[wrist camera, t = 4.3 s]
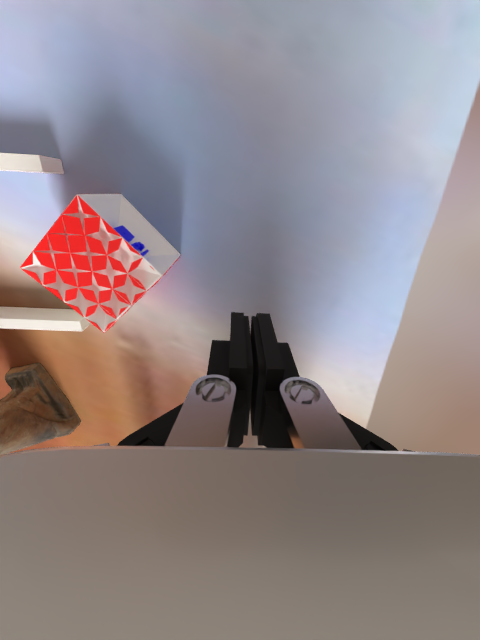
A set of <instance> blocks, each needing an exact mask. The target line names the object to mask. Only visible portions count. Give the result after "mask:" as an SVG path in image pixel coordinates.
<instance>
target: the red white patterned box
mask: <svg viewBox="0 0 480 640" xmlns="http://www.w3.org/2000/svg"><path fill="white" fill-rule="evenodd" d="M180 256H181V254H180V253H179V252H178V251H177V250H176V249H175V248H174V247H173V246H172V245H171V244H170V243H169V242H168V241H167V240H166V239H165V238H164V237H163V236H162V235H161V234H160V233H159V232H158V231H157V230H156V229H155V228H154V227H153V226H152V225H151V224H150V223H149V222H148V221H147V220H146V219H145V218H144V217H143V216H142V215H141V214H140V213H139V212H138V211H137V210H136V209H135V208H134V207H133V206H132V205H131V203H130V202H129V201H128V200H127V199H126V198H125V197H124V196H123V195H122V194H77V195H76V196H75V197H74V198H73V200H72V201H71V202H70V204H69V205H68V206H67V207H66V209H65V210H64V211H63V213H62V214H61V215H60V217H59V218H58V219H57V220H56V222H55V223H54V224H53V226H52V227H51V228H50V230H49V231H48V232H47V233H46V235H45V236H44V237H43V239H42V240H41V241H40V242H39V244H38V245H37V246H36V248H35V249H34V250H33V251H32V253H31V254H30V255H29V257H28V258H27V259H26V260H25V262H24V263H23V264H22V266H21V267H20V268H21V269H22V270H23V271H24V272H26V273H27V274H28V275H30V276H31V277H32V278H34V279H35V280H36V281H37V282H39V283H40V284H41V285H43V286H44V287H45V288H46V289H48V290H49V291H50V292H52V293H53V294H54V295H55V296H57V297H58V298H59V299H61V300H62V301H63V302H65V303H66V304H67V305H68V306H70V307H71V308H72V309H74V310H75V311H76V312H77V313H79V314H80V315H81V316H83V317H84V318H85V319H87V320H88V321H89V322H90V323H92V324H93V325H94V326H96V327H97V328H98V329H99V330H101V331H102V332H103V333H104V332H105V331H106V330H108V329H110V328H111V327H112V326H113V325H114V324H115V322H116V321H117V320H118V319H119V318H120V317H121V316H122V315H124V314H125V313H126V312H127V311H128V310H129V309H130V308H131V307H132V305H134V304H135V303H136V302H137V301H138V300H139V299H140V298H142V296H143V295H144V294H145V293H146V292H147V291H148V290H149V289H150V288H151V287H153V286H154V285H155V284H156V283H157V282H158V281H159V280H160V278H161V277H162V276H163V275H165V274H166V273H165V272H167V271H168V269H170V268H171V266H172V265H173V264H174V263H175V262H176V260H177V259H178V258H179V257H180Z"/></svg>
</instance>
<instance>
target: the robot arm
mask: <svg viewBox="0 0 480 640" xmlns="http://www.w3.org/2000/svg"><path fill="white" fill-rule="evenodd" d="M0 640H480V455H474V454H458V453H442V452H415V451H411V450H406V449H403V450H402V451H398V450H397V449H396V448H395V447H394V446H393V445H391V444H390V443H388V442H387V441H385V440H383V439H382V438H380V437H378V436H377V435H375V434H373V433H372V432H370V431H368V430H367V429H365V428H363V427H361V426H360V425H358V424H356V423H355V422H353V421H351V420H350V419H348V418H346V417H345V416H343V415H341V414H340V413H338V412H337V410H336V409H335V407H334V406H333V404H332V403H331V401H330V400H329V398H328V396H327V395H326V393H325V392H324V390H323V389H322V388H321V387H320V386H319V385H318V384H317V383H315V382H314V381H312V380H309V379H307V378H302V377H299V374H298V371H297V368H296V365H295V362H294V359H293V356H292V353H291V351H290V348H289V345H288V343H277V339H276V336H275V332H274V328H273V325H272V321H271V317H270V314H261V313H257V315H256V317H255V316H252V320H251V333H250V328H249V318H248V316H244V313H235V312H231V334H230V341H219V340H212V345H211V352H210V358H209V365H208V371H207V375H206V376H203V377H201V378H199V379H197V380H196V381H195V382H194V383H193V384H192V386H191V388H190V390H189V392H188V395H187V397H186V399H185V401H184V403H182V404H181V405H179V406H177V407H176V408H174V409H172V410H171V411H169V412H167V413H166V414H164V415H162V416H161V417H159V418H157V419H156V420H154V421H152V422H151V423H149V424H147V425H146V426H144V427H142V428H141V429H139V430H137V431H136V432H134V433H132V434H131V435H129V436H127V437H126V438H125V439H123V440H122V441H121V442H119V444H118V445H117V446H110V445H109V443H106V444H100V445H94V446H71V447H51V448H41V449H31V450H25V451H20V452H14V453H9V454H4V455H0Z"/></svg>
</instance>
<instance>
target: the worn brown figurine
mask: <svg viewBox="0 0 480 640" xmlns="http://www.w3.org/2000/svg"><path fill="white" fill-rule="evenodd" d="M5 380H6V382H7V383H8V385H9V386H10V387H11V389H12V391H11V392H10V393H9V394H8V395H6V396H5V397H4V398H2V399H1V400H0V455H4V454H7V453H10V452H13V451H16V450H19V449H23V448H26V447H29V446H32V445H35V444H38V443H41V442H44V441H46V440H50V439H54V438H55V437H61V436H65V435H69V434H71V433H72V432H73V431H74V430H75V429H76V427H77V426H78V425H79V424H80V422H81V420H80V418H79V417H78V415H77V413H76V412H75V410H74V409H73V408H72V407H71V404H70V403H69V400H68V399H67V398H66V397H65V395H64V394H63V392H62V391H61V390H60V388H59V387H58V386H57V384H56V383H55V381H54V380H53V379H52V378H51V377H50V375H49V374H48V373H47V371H46V370H45V368H44V367H43V366H42V365H41V364H40V363H35V364H30V365H26V366H21V367H15V368H11V369H10V371H8V372H7V373H6V375H5Z"/></svg>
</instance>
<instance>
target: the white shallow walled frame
mask: <svg viewBox="0 0 480 640" xmlns="http://www.w3.org/2000/svg"><path fill="white" fill-rule="evenodd" d="M0 171H16V172H34V173H51V174H64V171H63V166H62V161H61V159H57V158H52V157H46V156H41V155H29V154H13V153H0ZM90 324H91V323H90V322H89V321H88V320H87V319H85V318H84V317H83V316H81V315H80V314H79V313H77V312H76V311H75V310H74V309H51V308H25V307H0V328H4V329H32V330H60V331H83V330H84V329H85V328H87V327H88V326H89V325H90Z"/></svg>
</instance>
